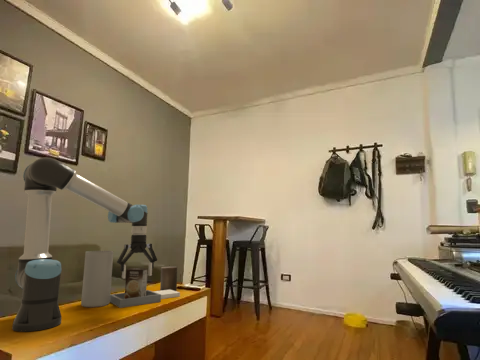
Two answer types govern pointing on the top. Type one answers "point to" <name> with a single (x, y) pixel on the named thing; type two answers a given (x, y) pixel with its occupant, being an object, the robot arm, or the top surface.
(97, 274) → the cylinder vase
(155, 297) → the bin
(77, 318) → the top surface
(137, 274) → the coffee box
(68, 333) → the top surface
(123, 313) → the top surface
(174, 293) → the board
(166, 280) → the brown box
